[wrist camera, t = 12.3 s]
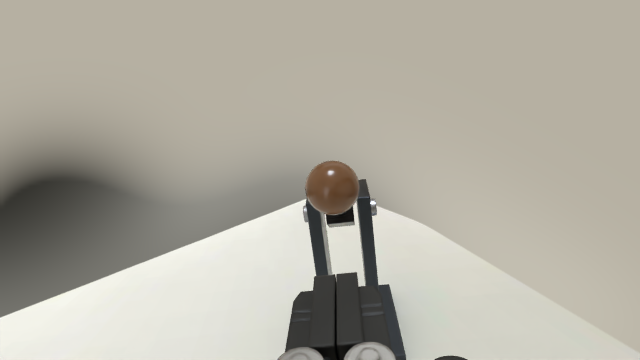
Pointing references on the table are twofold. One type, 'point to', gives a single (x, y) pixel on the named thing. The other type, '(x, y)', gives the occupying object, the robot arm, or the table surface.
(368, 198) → the bracket
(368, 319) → the robot arm
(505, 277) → the table surface
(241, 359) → the table surface
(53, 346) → the table surface
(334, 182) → the lever
